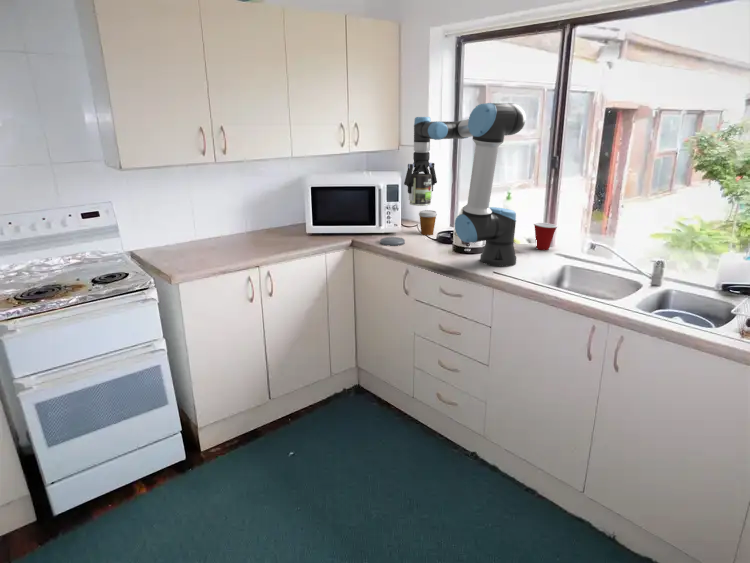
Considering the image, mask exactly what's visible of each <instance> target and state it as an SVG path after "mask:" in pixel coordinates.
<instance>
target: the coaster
mask: <svg viewBox="0 0 750 563" xmlns="http://www.w3.org/2000/svg"><path fill="white" fill-rule="evenodd" d="M405 242H406V239H404V237H403V238H402V237H398V236H389V237H388V236H387V237H382V238H380V245H383V244H384V246H387V245H390V246H389V247H398V245H399V246H403V245H404V244H405Z"/></svg>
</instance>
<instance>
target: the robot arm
mask: <svg viewBox="0 0 750 563" xmlns="http://www.w3.org/2000/svg"><path fill="white" fill-rule="evenodd" d="M526 119H527V118H526V112H525V111H524V109H523V108H522V107H521V106H519V105H518V104H517V103H516V104H515V103H511V102H510V103H509V102H508V103H497V102H496V103H495V102H486V103H485V102H484V103H480V104H478V105H476V106H475V108H473V109H472V111H470V114H469V117H468V118H467V119H463V120H457V121H441V120H440V121H431V117H430V116H415V117H414V124H413V153H412V154H413V155H412V156H413V158H412V159H413V163H408V164H407V170H406V174H405V175H406V176H405V178H404V183H403V185H404V186H406V187H407V193H408V200H409V201H410V200H411V201H413V188H414V187H412V185H413V183H414V177H413V178H412V177H411V175H418V174H419V173H424V174H427V175H430V174H432V178H431V200H432V198H433V191H434V186H435V184H437V183H438V180H437V175H436V170H435V162H430V161H429V160H430V150H431V140H435V141H439V140H452V139H453V140H455V139H456V140H463V139H468V138H471V137H472V141H473V142H474V143H475V148H474V154H473V160H472V161H473V163H472V169H471V176H470V183H469V189H468V190H469V191H468V197H467V203H466V205H465V206H463V207H462V212H461V214H459V215H457V216H456V218H455V220H454V229H455V233H456V234H457V237H458V239H460V241H462V243H463V242H464V243H472V244H473V243H477V242H484V241H485V244H484V246H483V249H482V251H481V252H482V253H481V254H480V260H479V261H480V263H482V264H484V265H487V266H490V267H491V266H493V267H510V266H514V265H516V264H517V256H516V250H515V246H514V244H515V243H514V242H515V233H516V223H517V220H516V219H517V213H516V211H514V210H512V209H508V208H502V207H494V206H492V207H491V206H490V202H491V195H492V189H493V182H494V176H495V170H496V164H497V158H498V153H499V147H500V146H501V145H502V144H503V143H504V141H505V136H506V137H507V136H513V135H515V134H517V133H519V132H520V131H522V129H524V126H525V125H526V124H525V123H526V122H527V120H526Z"/></svg>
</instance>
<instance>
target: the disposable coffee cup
mask: <svg viewBox="0 0 750 563" xmlns="http://www.w3.org/2000/svg"><path fill="white" fill-rule="evenodd" d="M418 215H419V222H420V223H419V224H420V233H421V235H422V236H433V235H434V231H435V226H436V225H435V224H436V220H437V215H438V214H437V211H436V210H433V209H432V210H431V209H430V210H428V209H427V210H426V209H425V210H420V211H419V212H418Z"/></svg>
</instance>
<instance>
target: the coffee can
mask: <svg viewBox="0 0 750 563" xmlns="http://www.w3.org/2000/svg"><path fill="white" fill-rule="evenodd" d="M411 177H412V178H413V177H414V183H413V185H412V187H414V188H413V201H411V200H409V205H411V206H417V207H419V206H420V207H423V206H426V207H427V206H430V205H431V204H432V199H431V178H432V174H430V175H427V174H424V172H419V174H418V175H411Z"/></svg>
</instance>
